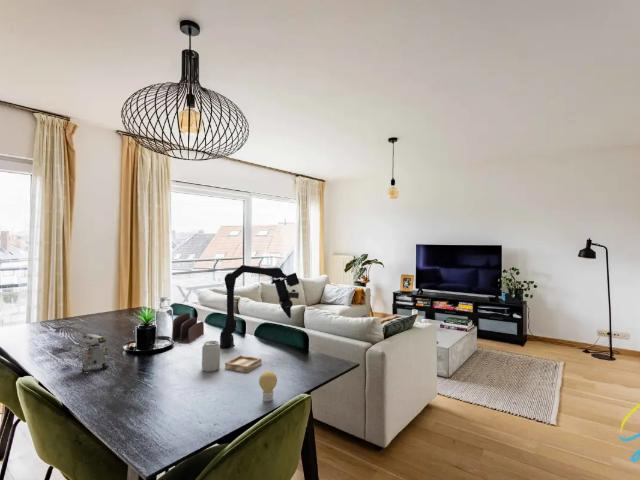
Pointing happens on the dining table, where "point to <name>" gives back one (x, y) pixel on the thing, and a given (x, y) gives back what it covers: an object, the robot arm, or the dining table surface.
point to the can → (210, 356)
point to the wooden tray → (243, 363)
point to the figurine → (94, 352)
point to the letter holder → (186, 329)
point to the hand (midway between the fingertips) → (289, 316)
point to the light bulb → (268, 385)
